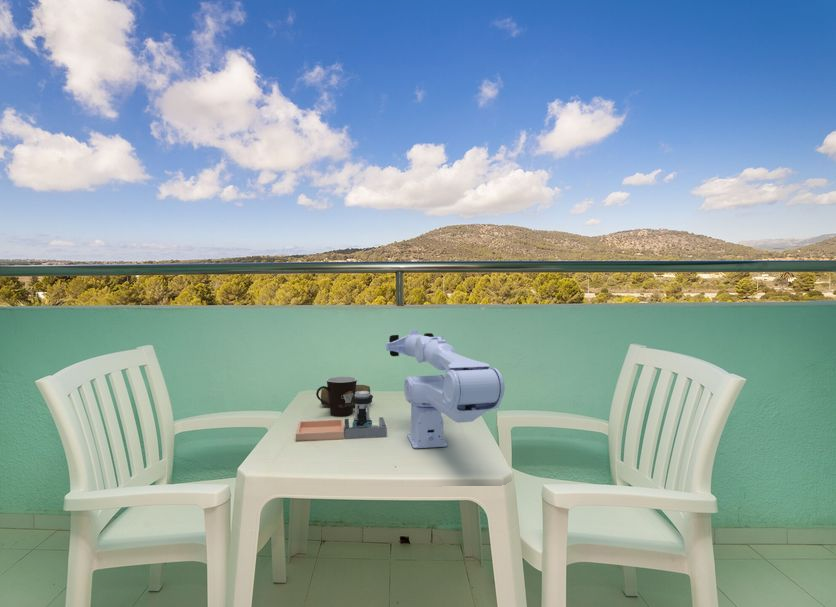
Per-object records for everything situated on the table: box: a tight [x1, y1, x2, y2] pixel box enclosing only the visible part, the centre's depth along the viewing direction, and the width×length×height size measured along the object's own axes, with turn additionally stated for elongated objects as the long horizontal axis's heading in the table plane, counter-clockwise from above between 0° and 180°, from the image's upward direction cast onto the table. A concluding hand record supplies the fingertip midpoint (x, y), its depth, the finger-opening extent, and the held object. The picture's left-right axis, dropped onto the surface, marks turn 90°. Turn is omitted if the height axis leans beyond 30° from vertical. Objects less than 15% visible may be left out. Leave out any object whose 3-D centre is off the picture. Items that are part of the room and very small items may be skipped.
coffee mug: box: [315, 376, 358, 418], centre depth 129 cm, size 12×9×10 cm
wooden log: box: [320, 384, 371, 407], centre depth 138 cm, size 15×7×7 cm, turn 97°
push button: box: [351, 391, 379, 427], centre depth 113 cm, size 7×5×10 cm
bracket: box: [343, 416, 388, 440], centre depth 113 cm, size 8×10×2 cm
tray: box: [295, 419, 345, 442], centre depth 111 cm, size 10×11×2 cm
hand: (405, 342), depth 126 cm, fingers open, 7 cm apart
